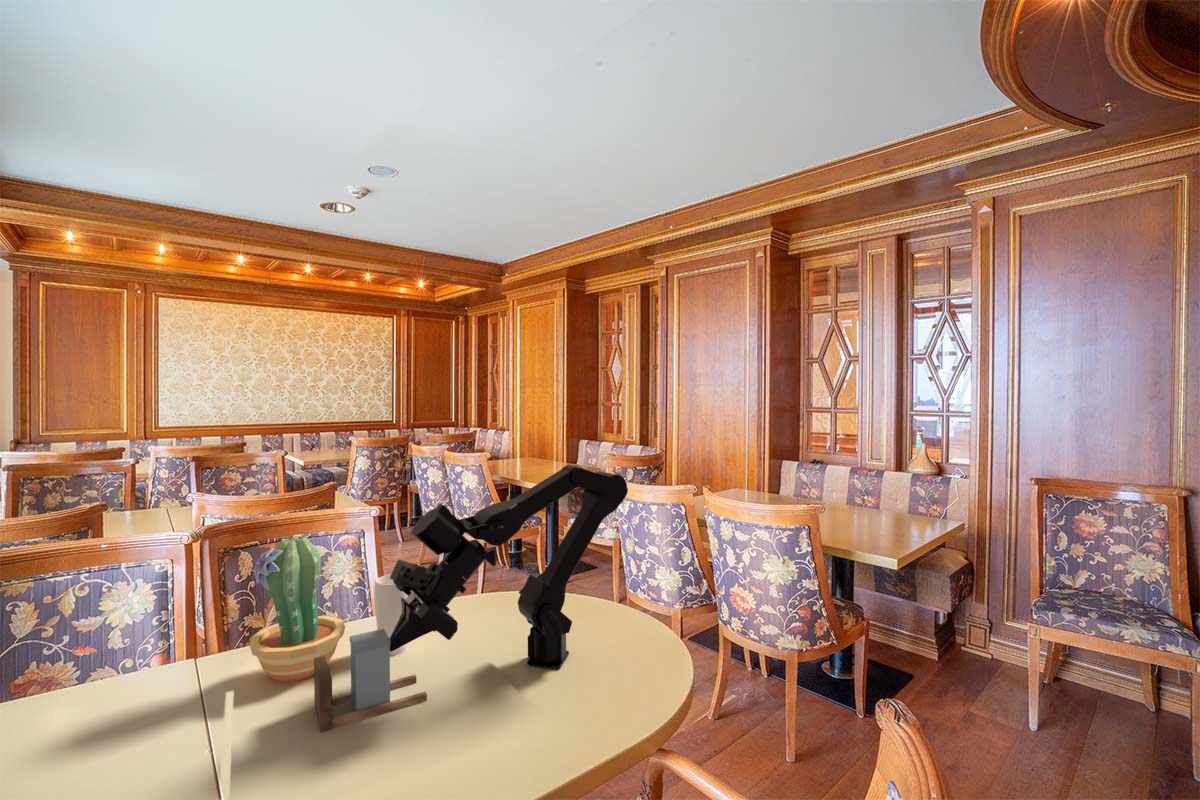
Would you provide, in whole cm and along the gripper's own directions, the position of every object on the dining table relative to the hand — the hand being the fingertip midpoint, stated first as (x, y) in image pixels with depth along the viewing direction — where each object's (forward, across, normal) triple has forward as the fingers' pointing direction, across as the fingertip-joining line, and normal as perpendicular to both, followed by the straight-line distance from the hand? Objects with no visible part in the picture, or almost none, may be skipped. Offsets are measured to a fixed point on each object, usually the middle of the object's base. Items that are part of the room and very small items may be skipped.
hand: (388, 649), depth 91 cm
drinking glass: (+3, -18, +10) cm, 21 cm away
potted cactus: (+15, -19, -1) cm, 24 cm away
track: (+9, 0, +5) cm, 10 cm away
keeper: (+8, 0, +4) cm, 9 cm away
